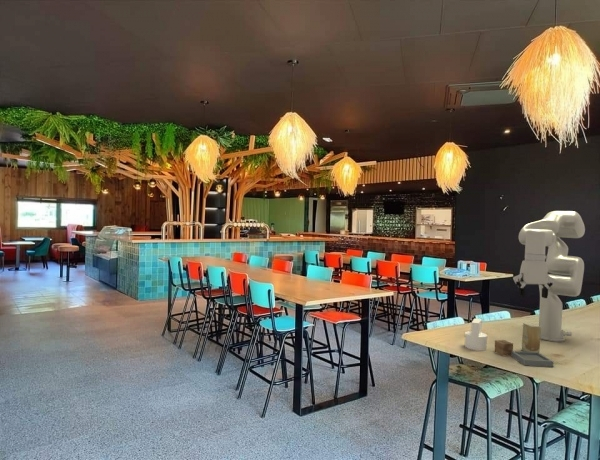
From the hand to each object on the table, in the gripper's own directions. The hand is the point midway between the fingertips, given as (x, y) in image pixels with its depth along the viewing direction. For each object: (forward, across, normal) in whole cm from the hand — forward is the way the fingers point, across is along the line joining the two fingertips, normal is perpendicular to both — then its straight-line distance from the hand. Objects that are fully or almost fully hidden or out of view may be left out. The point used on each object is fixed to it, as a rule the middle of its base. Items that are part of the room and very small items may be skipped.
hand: (533, 297), depth 173 cm
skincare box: (+24, 0, 0) cm, 24 cm away
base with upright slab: (+24, +22, -4) cm, 33 cm away
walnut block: (+24, +13, +3) cm, 28 cm away
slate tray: (+24, +6, +12) cm, 28 cm away
